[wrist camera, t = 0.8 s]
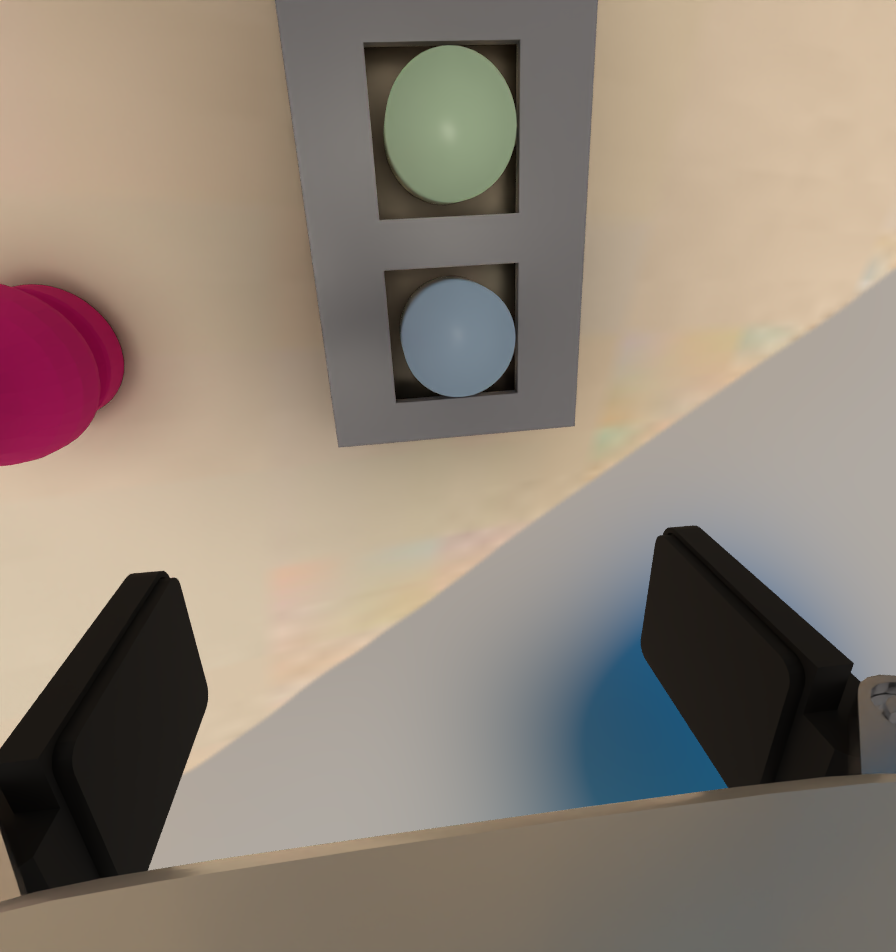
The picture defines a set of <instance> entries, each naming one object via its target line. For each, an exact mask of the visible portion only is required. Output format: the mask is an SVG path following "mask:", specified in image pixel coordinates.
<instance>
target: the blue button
mask: <svg viewBox="0 0 896 952" xmlns="http://www.w3.org/2000/svg"><path fill="white" fill-rule="evenodd" d="M399 329H400V340H401V344H402V348H403V352H404V355H405V359H406V362H407V364H408V366H409V368H410V370H411V372H412V373H413V375H414V376H415V377H416V378H417V380H418V381H419V382H420V383H421V384H423V385H424V386H425V387H427V388H428V389H430V390H432V391H433V392H435V393H438V394H441V395H445V396H450V397H465V396H470V395H474V394H477V393H479V392H482V391H484V390H485V389H487V388H489V387H490V386H491V385H493V384H494V383H495V382H496V381H497V380H498V379H499V378H500V377H501V376H502V375H503V373H504V372H505V370H506V369H507V367H508V365H509V363H510V361H511V359H512V356H513V353H514V348H515V327H514V322H513V319H512V316H511V314H510V312H509V310H508V308H507V307H506V305H505V304H504V302H503V301H502V300H501V299H500V298H499V297H498V296H497V295H496V294H495V293H494V292H492V291H491V290H489V289H487V288H486V287H484V286H482V285H480V284H478V283H476V282H474V281H472V280H470V279H467V278H463V277H458V276H444V277H439V278H436V279H433V280H431V281H428V282H427V283H425V284H423V285H422V286H421V287H419V288H418V289H417V290H416V291H415V292H414V293H413V294H412V295H411V297H410V298H409V299H408V301H407V303H406V305H405V306H404V309H403V312H402V315H401V319H400V327H399Z"/></svg>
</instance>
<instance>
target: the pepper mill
mask: <svg viewBox="0 0 896 952" xmlns="http://www.w3.org/2000/svg"><path fill="white" fill-rule="evenodd" d="M123 373H124V360H123V354H122V350H121V347H120V344H119V342H118V339H117V337H116V335H115V333H114V332H113V330H112V328H111V327H110V325H109V324H108V323H107V321H106V320H105V319H104V318H103V317H102V316H101V315H100V314H99V313H98V312H97V311H96V310H95V309H94V308H93V307H91V306H90V305H89V304H88V303H86V302H85V301H83V300H82V299H80V298H79V297H77V296H75V295H73V294H71V293H69V292H66V291H64V290H61V289H58V288H55V287H51V286H46V285H36V284H28V285H19V286H14V287H9V286H6V285H2V284H0V466H6V465H14V464H19V463H23V462H28V461H32V460H35V459H39V458H42V457H45V456H47V455H49V454H51V453H53V452H55V451H57V450H59V449H61V448H63V447H64V446H66V445H68V444H69V443H71V442H72V441H74V440H75V439H77V438H78V437H79V436H80V435H81V434H82V433H83V432H84V431H85V430H86V428H87V427H88V426H89V424H90V423H91V421H92V419H93V418H94V416H95V413H96V411H97V410H98V409H100V408H101V407H103V406H104V405H106V404H107V403H108V402H109V401H110V400H111V399H112V398H113V397H114V395H115V394H116V393H117V391H118V389H119V387H120V385H121V382H122V378H123Z"/></svg>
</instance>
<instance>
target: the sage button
mask: <svg viewBox="0 0 896 952" xmlns="http://www.w3.org/2000/svg"><path fill="white" fill-rule="evenodd" d="M516 128H517V122H516V111H515V105H514V101H513V98H512V94H511V92H510V89H509V87H508V85H507V83H506V81H505V79H504V78H503V76H502V75H501V73H500V72H499V70H498V69H497V68H496V67H495V66H494V65H493V64H492V63H491V62H490V61H489V60H488V59H486V58H485V57H484V56H483V55H481V54H479V53H477V52H476V51H474V50H471V49H469V48H466V47H461V46H454V45H445V46H438V47H434V48H431V49H429V50H426V51H424V52H422V53H421V54H419V55H417V56H416V57H414V58H413V59H412V60H411V61H410V62H409V63H408V64H407V65H406V66H405V67H404V68H403V70H402V71H401V72H400V74H399V75H398V77H397V78H396V80H395V82H394V84H393V86H392V89H391V91H390V94H389V97H388V101H387V106H386V113H385V120H384V130H383V138H384V148H385V153H386V157H387V160H388V163H389V165H390V168H391V170H392V172H393V174H394V175H395V177H396V178H397V180H398V181H399V182H400V184H401V185H402V186H403V187H404V188H405V189H406V190H407V191H408V192H409V193H411V194H412V195H414V196H415V197H417V198H419V199H421V200H423V201H425V202H428V203H432V204H439V205H446V204H453V203H457V202H461V201H464V200H467V199H471V198H473V197H475V196H478V195H479V194H481V193H483V192H484V191H486V190H487V189H488V188H489V187H491V186H492V185H493V184H494V183H495V182H496V181H497V180H498V178H499V177H500V176H501V174H502V173H503V171H504V170H505V168H506V166H507V164H508V162H509V160H510V157H511V155H512V152H513V148H514V145H515V139H516Z"/></svg>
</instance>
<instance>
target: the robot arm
mask: <svg viewBox="0 0 896 952" xmlns="http://www.w3.org/2000/svg"><path fill="white" fill-rule="evenodd" d="M641 649H642V653H643V655H644V658H645V659H646V661H647V663H648V664H649V666H650V667H651V669H652V670H653V672H654V673H655V675H656V677H657V678H658V680H659V681H660V683H661V684H662V686H663V687H664V689H665V690H666V692H667V694H668V695H669V696H670V698H671V699H672V701H673V703H674V704H675V706H676V707H677V709H678V710H679V712H680V714H681V715H682V717H683V718H684V720H685V721H686V723H687V724H688V726H689V728H690V729H691V731H692V732H693V734H694V735H695V737H696V738H697V740H698V741H699V743H700V745H701V746H702V747H703V749H704V751H705V752H706V754H707V755H708V757H709V758H710V760H711V762H712V763H713V765H714V766H715V768H716V769H717V771H718V772H719V774H720V775H721V777H722V778H723V780H724V782H725V783H726V785H727V786H728V788H725V789H718V790H710V791H703V792H696V793H689V794H680V795H673V796H665V797H658V798H650V799H643V800H635V801H628V802H620V803H613V804H605V805H599V806H590V807H583V808H575V809H568V810H561V811H554V812H547V813H540V814H532V815H525V816H518V817H511V818H503V819H496V820H489V821H482V822H475V823H467V824H460V825H453V826H446V827H439V828H432V829H425V830H417V831H411V832H403V833H396V834H389V835H382V836H375V837H368V838H361V839H355V840H348V841H341V842H334V843H327V844H320V845H313V846H307V847H299V848H293V849H286V850H279V851H273V852H265V853H259V854H252V855H244V856H238V857H231V858H224V859H217V860H211V861H205V862H198V863H193V864H186V865H180V866H174V867H168V868H162V869H156V870H150V871H148V868H149V865H150V863H151V860H152V857H153V854H154V851H155V849H156V846H157V843H158V840H159V838H160V834H161V832H162V829H163V826H164V824H165V821H166V818H167V815H168V813H169V810H170V807H171V804H172V802H173V799H174V796H175V793H176V790H177V787H178V785H179V782H180V779H181V777H182V774H183V771H184V768H185V765H186V763H187V760H188V757H189V754H190V752H191V749H192V746H193V743H194V740H195V738H196V735H197V732H198V729H199V727H200V724H201V721H202V718H203V716H204V713H205V710H206V707H207V702H208V687H207V683H206V679H205V675H204V672H203V668H202V664H201V660H200V657H199V653H198V649H197V645H196V642H195V638H194V634H193V630H192V627H191V623H190V619H189V615H188V612H187V608H186V604H185V600H184V597H183V593H182V589H181V585H180V583H179V581H178V579H177V578H169V575H168V574H167V573H166V572H164V571H157V572H145V573H133V574H130V575H129V576H127V577H126V579H125V580H124V581H123V583H122V584H121V586H120V587H119V588H118V590H117V591H116V592H115V594H114V595H113V596H112V598H111V599H110V600H109V602H108V603H107V605H106V606H105V607H104V609H103V610H102V611H101V613H100V614H99V615H98V617H97V618H96V619H95V621H94V622H93V624H92V625H91V626H90V628H89V629H88V630H87V632H86V633H85V634H84V636H83V637H82V638H81V640H80V641H79V643H78V644H77V645H76V647H75V648H74V649H73V651H72V652H71V653H70V655H69V656H68V657H67V659H66V660H65V662H64V663H63V664H62V666H61V667H60V668H59V670H58V671H57V672H56V674H55V675H54V676H53V678H52V679H51V681H50V682H49V683H48V685H47V686H46V687H45V689H44V690H43V691H42V693H41V694H40V695H39V697H38V698H37V700H36V701H35V702H34V704H33V705H32V706H31V708H30V709H29V710H28V712H27V713H26V714H25V716H24V717H23V719H22V720H21V721H20V723H19V724H18V725H17V727H16V728H15V729H14V731H13V732H12V733H11V735H10V736H9V738H8V739H7V740H6V742H5V743H4V744H3V746H2V747H1V748H0V952H896V676H891V675H876V676H871V677H867V678H866V679H865V680H863V681H862V682H860V681H859V680H858V679H857V678H856V677H855V676H854V675H853V674H851V670H852V667H853V664H854V663H853V662H852V661H850V660H849V659H848V658H847V657H846V656H845V655H844V654H843V653H841V652H840V651H839V650H838V649H837V648H836V647H835V646H833V645H832V644H831V643H830V642H829V641H828V640H827V639H826V638H824V637H823V636H822V635H821V634H820V633H819V632H818V631H816V630H815V629H814V628H813V627H812V626H811V625H810V624H809V623H807V622H806V621H805V620H804V619H803V618H802V617H800V616H799V615H798V614H797V613H796V612H795V611H794V610H792V608H790V607H789V606H788V605H787V604H786V603H785V602H784V601H782V600H781V599H780V598H779V597H778V596H777V595H776V594H775V593H773V592H772V591H771V590H770V589H769V588H768V587H767V586H765V585H764V584H763V583H762V582H761V581H760V580H759V579H757V578H756V577H755V576H754V575H753V574H752V573H751V572H750V571H748V570H747V569H746V568H745V567H744V566H743V565H742V564H741V563H739V562H738V561H737V560H736V559H735V558H734V557H732V555H730V554H729V553H728V552H727V551H726V550H725V549H724V548H722V547H721V546H720V545H719V544H718V543H717V542H716V541H715V540H713V539H712V538H711V537H710V536H709V535H708V534H707V533H705V532H704V531H703V530H702V529H701V528H700V527H698V526H684V527H671V528H667V529H666V530H665V531H664V533H663V535H660V536H658V537H657V539H656V543H655V549H654V555H653V562H652V568H651V575H650V582H649V589H648V595H647V602H646V609H645V615H644V622H643V630H642V635H641Z"/></svg>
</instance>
